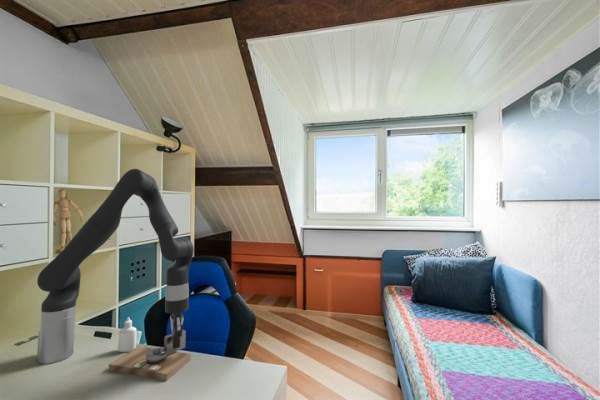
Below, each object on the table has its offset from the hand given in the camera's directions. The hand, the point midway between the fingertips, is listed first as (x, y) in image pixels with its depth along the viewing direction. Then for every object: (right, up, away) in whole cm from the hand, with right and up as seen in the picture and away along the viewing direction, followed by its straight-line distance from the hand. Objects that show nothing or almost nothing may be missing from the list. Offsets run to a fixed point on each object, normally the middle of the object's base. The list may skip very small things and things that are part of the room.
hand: (176, 347), depth 93 cm
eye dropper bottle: (-22, -6, +8) cm, 24 cm away
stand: (-8, -5, -2) cm, 9 cm away
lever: (-4, -3, 0) cm, 5 cm away
